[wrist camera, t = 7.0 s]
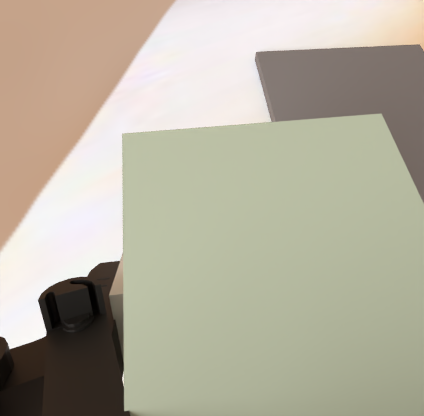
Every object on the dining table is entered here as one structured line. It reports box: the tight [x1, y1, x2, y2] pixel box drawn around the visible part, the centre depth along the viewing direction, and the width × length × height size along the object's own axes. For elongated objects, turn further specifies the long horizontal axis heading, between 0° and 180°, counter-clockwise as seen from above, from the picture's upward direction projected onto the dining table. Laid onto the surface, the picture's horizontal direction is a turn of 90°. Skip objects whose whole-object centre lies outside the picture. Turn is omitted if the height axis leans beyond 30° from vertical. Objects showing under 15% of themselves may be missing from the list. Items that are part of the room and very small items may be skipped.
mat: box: [255, 45, 424, 203], centre depth 27 cm, size 16×19×1 cm
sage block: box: [122, 114, 424, 416], centre depth 11 cm, size 6×6×11 cm
